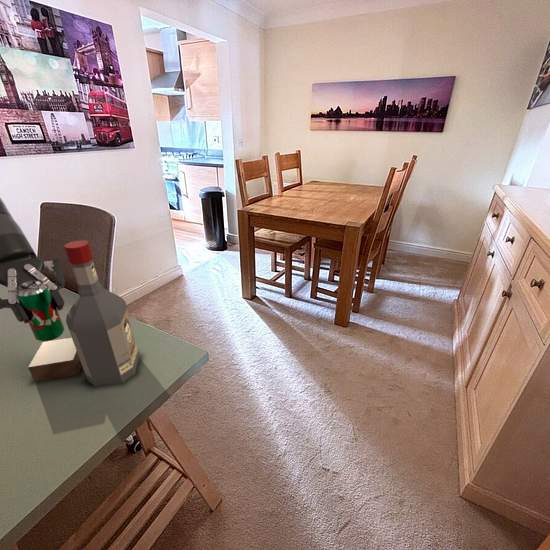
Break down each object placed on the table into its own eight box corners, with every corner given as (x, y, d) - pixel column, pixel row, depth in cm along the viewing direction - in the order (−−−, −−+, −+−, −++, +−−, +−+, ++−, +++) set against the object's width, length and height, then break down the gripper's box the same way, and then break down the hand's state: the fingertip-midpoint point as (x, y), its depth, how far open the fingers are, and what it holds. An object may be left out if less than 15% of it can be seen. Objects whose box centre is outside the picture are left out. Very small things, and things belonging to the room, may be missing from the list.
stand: (36, 385, 62) (27, 367, 60) (50, 358, 69) (42, 341, 67) (79, 377, 64) (73, 360, 62) (89, 352, 71) (83, 335, 69)
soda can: (57, 324, 66) (38, 276, 60) (70, 332, 63) (51, 283, 58) (31, 337, 62) (8, 286, 56) (43, 346, 59) (21, 294, 54)
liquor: (85, 390, 61) (33, 256, 47) (99, 359, 69) (58, 236, 55) (133, 384, 63) (96, 252, 49) (141, 354, 71) (112, 233, 57)
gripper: (-52, 243, 52) (-4, 327, 51) (44, 223, 62) (86, 293, 61) (-43, 262, 57) (0, 338, 56) (44, 241, 67) (82, 305, 66)
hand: (44, 314), depth 59 cm, fingers closed on soda can, 5 cm apart
